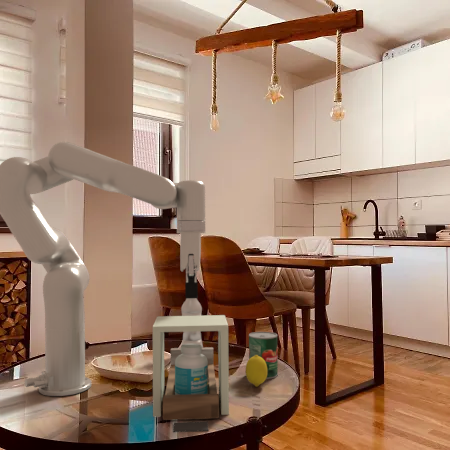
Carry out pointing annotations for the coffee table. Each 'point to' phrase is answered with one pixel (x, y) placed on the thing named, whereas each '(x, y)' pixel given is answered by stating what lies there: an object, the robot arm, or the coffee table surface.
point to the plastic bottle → (191, 309)
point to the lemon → (256, 370)
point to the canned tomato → (265, 350)
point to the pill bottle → (191, 371)
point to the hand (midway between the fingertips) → (191, 297)
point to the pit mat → (190, 426)
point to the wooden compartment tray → (191, 403)
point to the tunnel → (188, 325)
